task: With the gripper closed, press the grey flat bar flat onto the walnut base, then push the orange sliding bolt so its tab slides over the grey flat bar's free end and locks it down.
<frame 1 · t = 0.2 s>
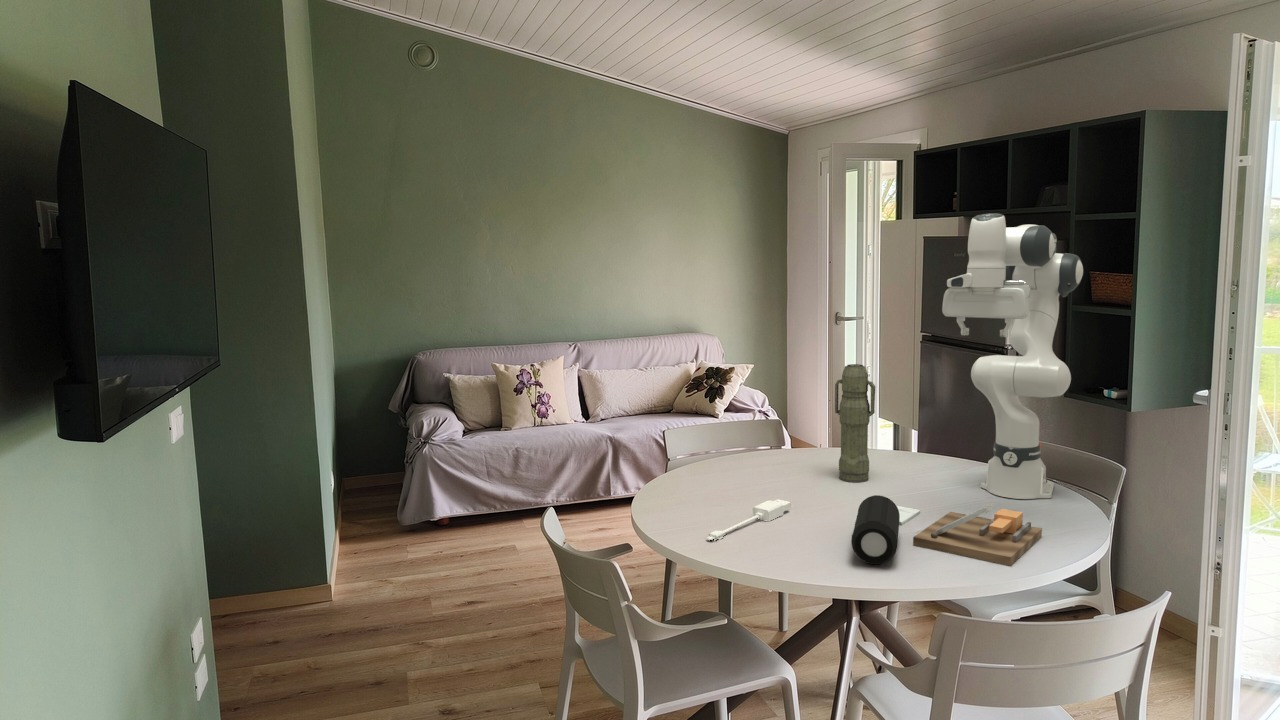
hand: (984, 336, 208), 48 cm above the table, fingers open, 8 cm apart
grey flat bar: (963, 519, 195), point 6 cm above the table, hinge at 35.0°, touching base
portable speaker: (876, 549, 196), on the table
base: (977, 540, 199), on the table
charging cable: (750, 526, 215), on the table
bolt: (1003, 525, 198), point 4 cm above the table, slide at 0.0 cm
thermos: (854, 479, 255), on the table
external hard drive: (895, 519, 219), on the table
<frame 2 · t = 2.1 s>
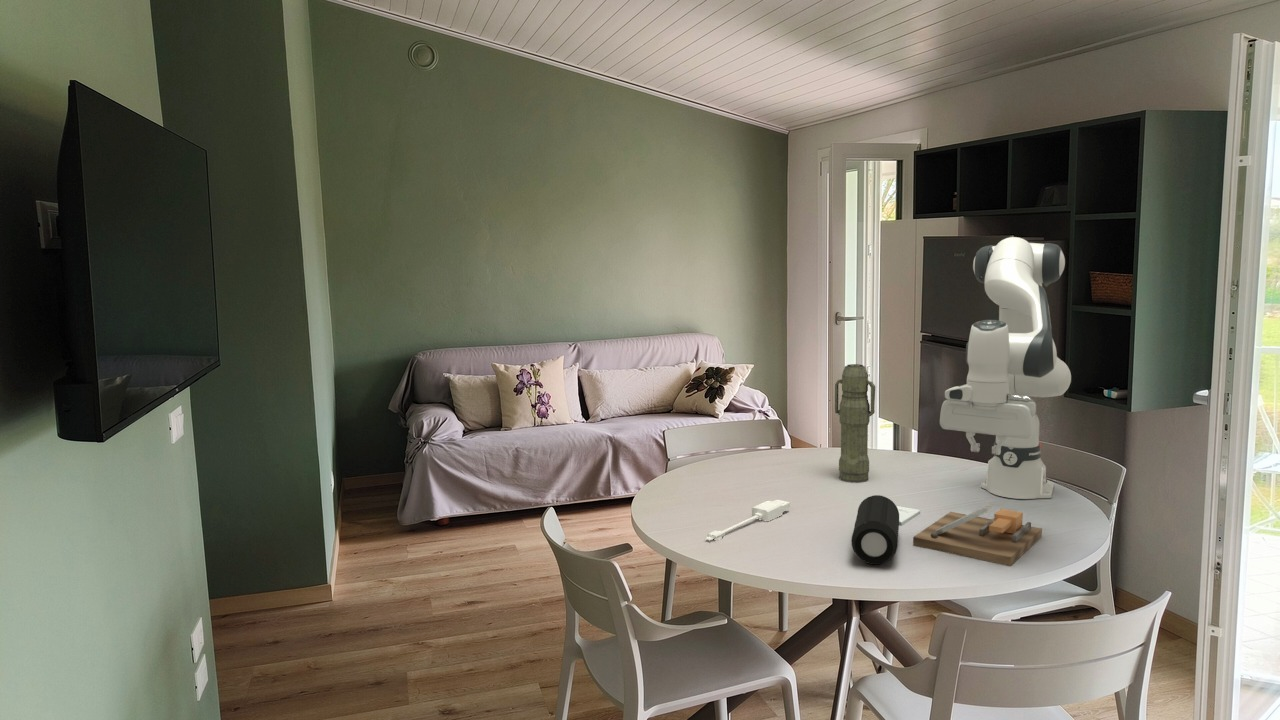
hand: (985, 452, 190), 23 cm above the table, fingers open, 3 cm apart
nothing on the table moved.
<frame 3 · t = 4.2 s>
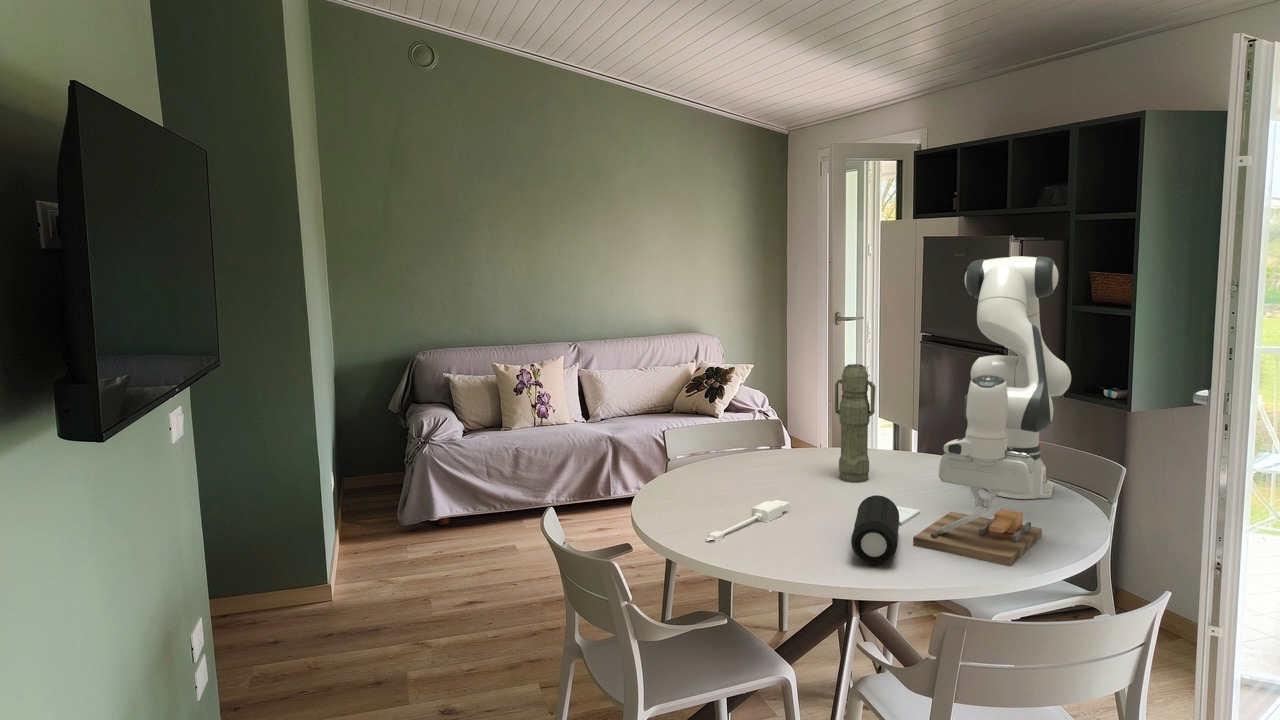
hand: (984, 506, 191), 10 cm above the table, fingers closed
grey flat bar: (963, 520, 195), point 6 cm above the table, hinge at 33.1°, touching base, gripper
everything else where it was.
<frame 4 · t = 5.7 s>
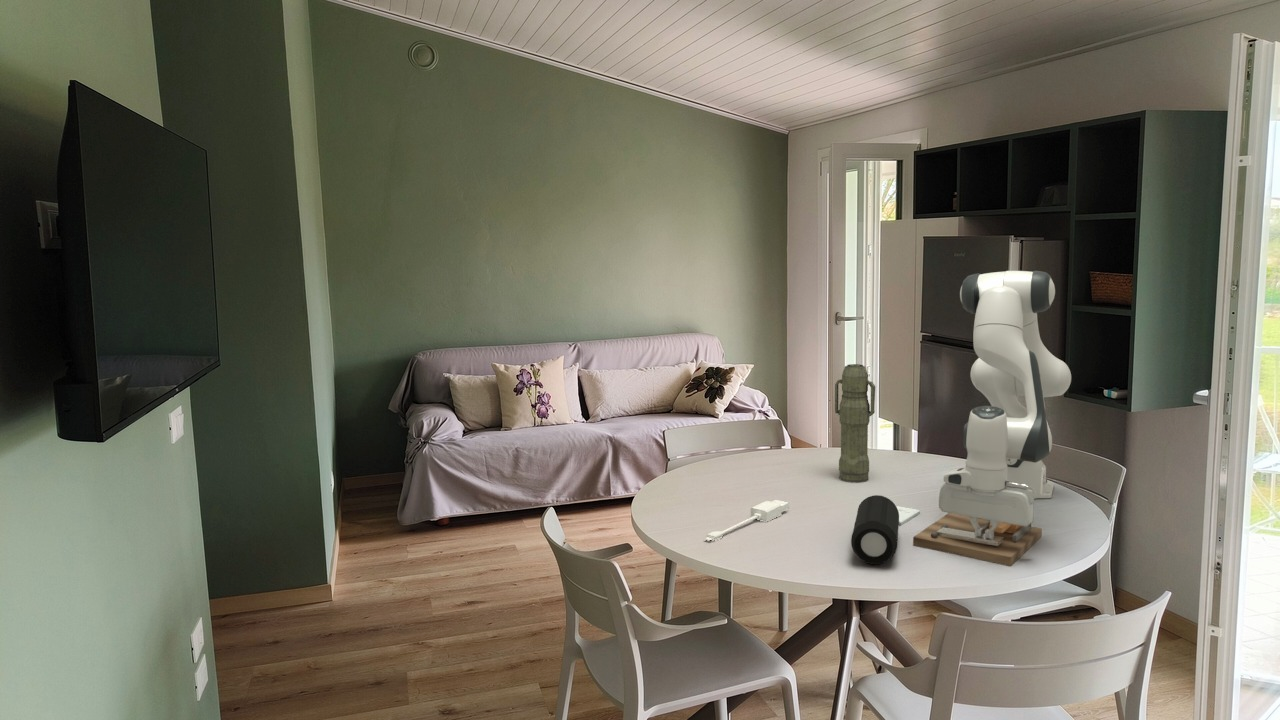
hand: (983, 537, 192), 3 cm above the table, fingers closed, pressing on grey flat bar
grey flat bar: (969, 536, 195), point 3 cm above the table, hinge at 2.0°, touching base, gripper
everything else where it was.
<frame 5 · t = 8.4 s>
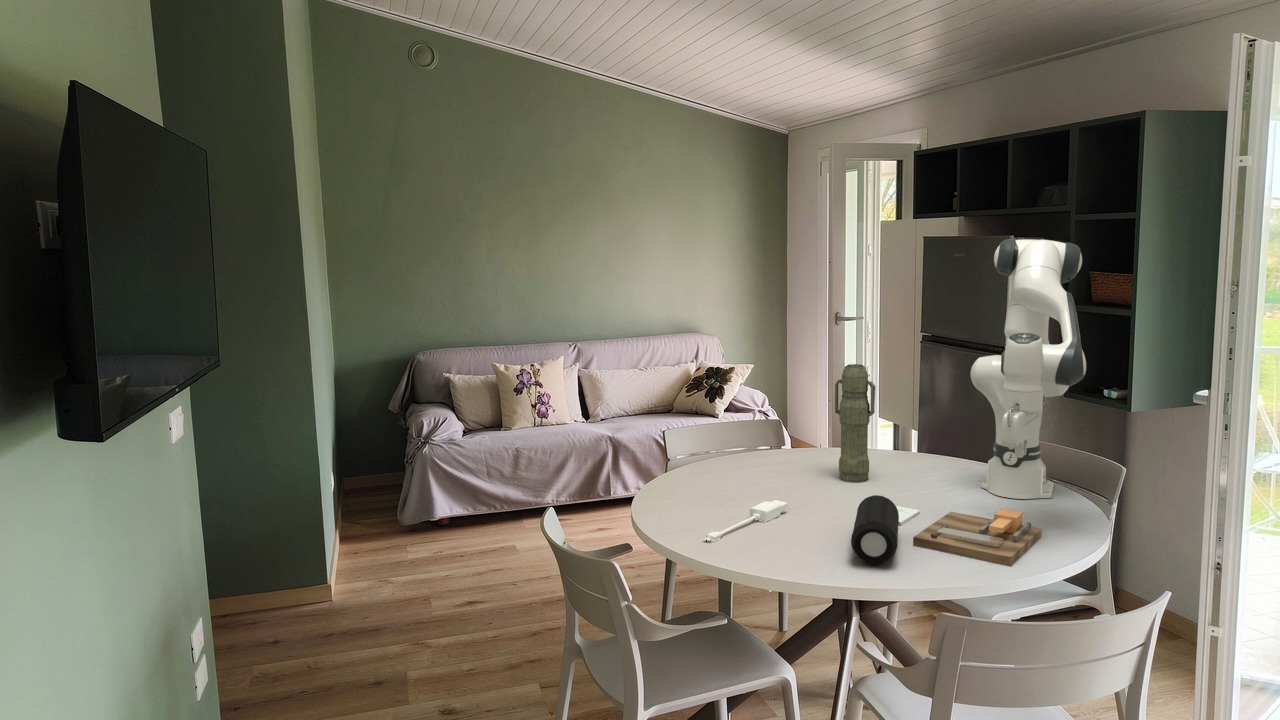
hand: (1020, 456, 205), 18 cm above the table, fingers closed
grey flat bar: (969, 537, 195), point 3 cm above the table, hinge at 0.7°, touching base
everything else where it was.
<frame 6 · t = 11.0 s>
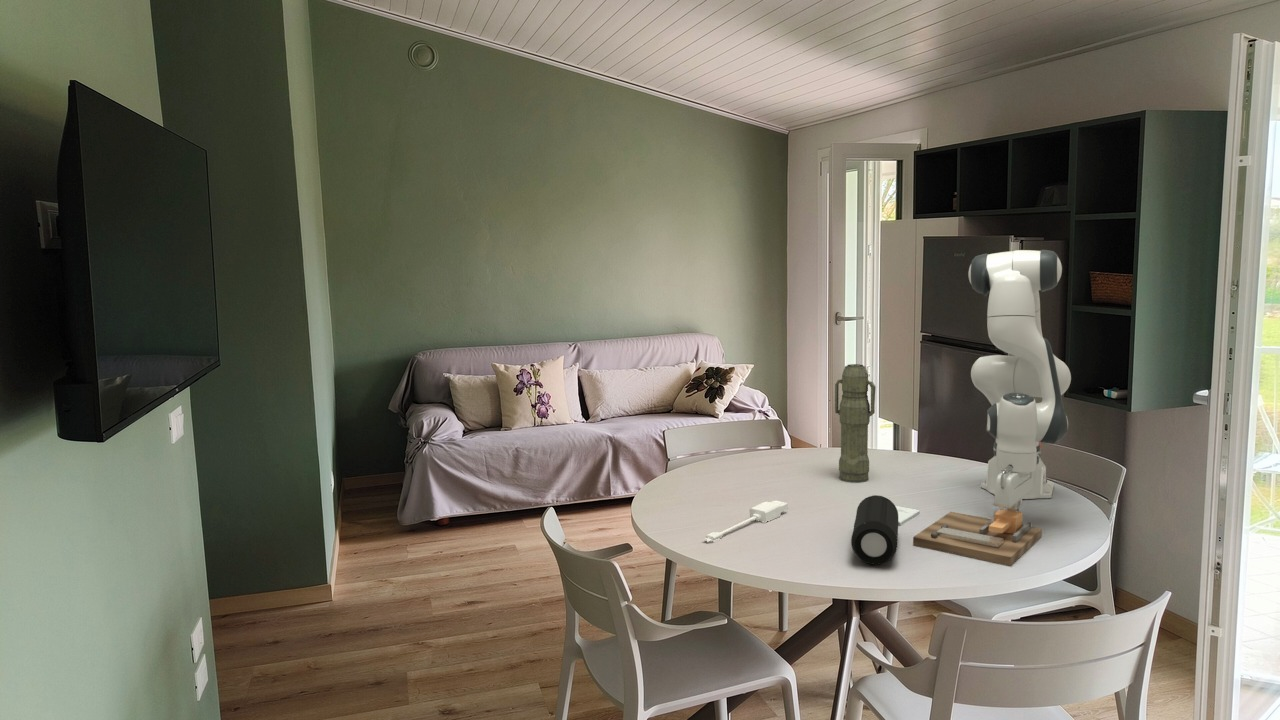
hand: (1013, 516, 203), 4 cm above the table, fingers closed
bolt: (1003, 525, 197), point 4 cm above the table, slide at 0.2 cm, touching gripper
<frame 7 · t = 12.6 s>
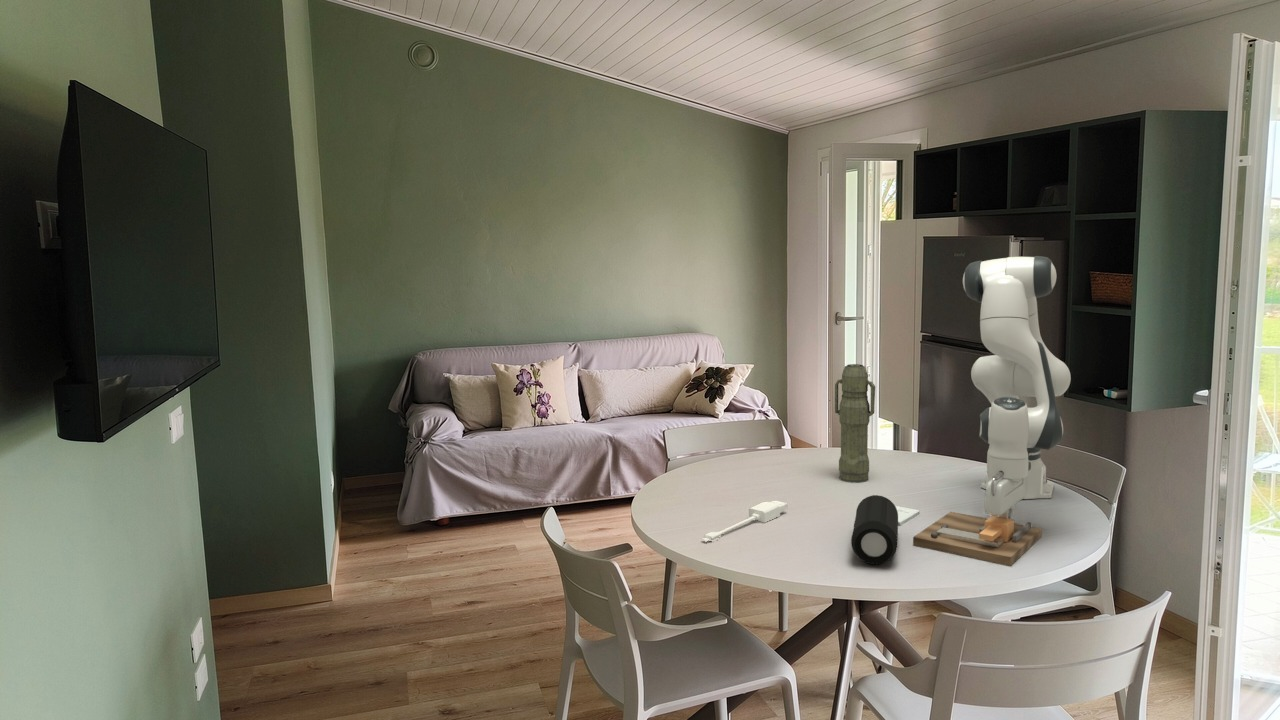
hand: (1005, 524, 198), 4 cm above the table, fingers closed
bolt: (994, 532, 192), point 4 cm above the table, slide at 6.8 cm, touching gripper
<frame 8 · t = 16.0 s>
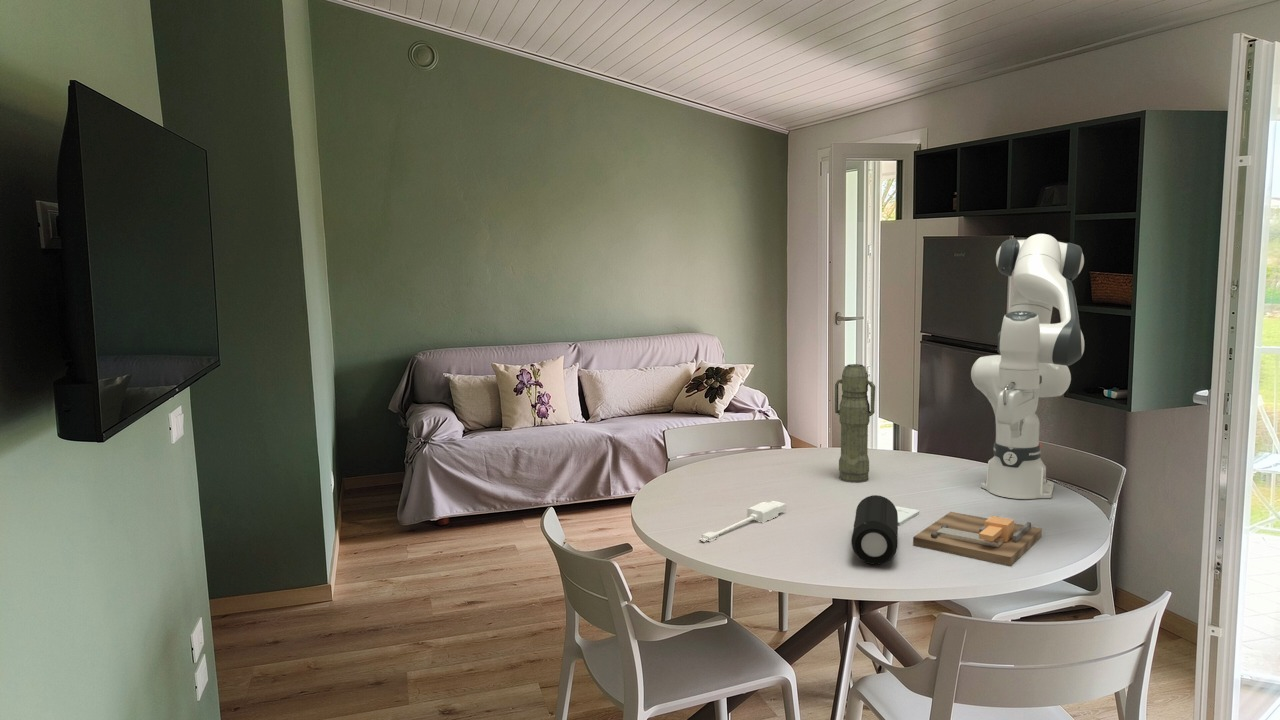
hand: (1016, 436, 201), 24 cm above the table, fingers closed
bolt: (994, 532, 192), point 4 cm above the table, slide at 6.8 cm
at the end: grey flat bar at +1° (first picture: +35°); bolt slide at 6.8 cm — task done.
